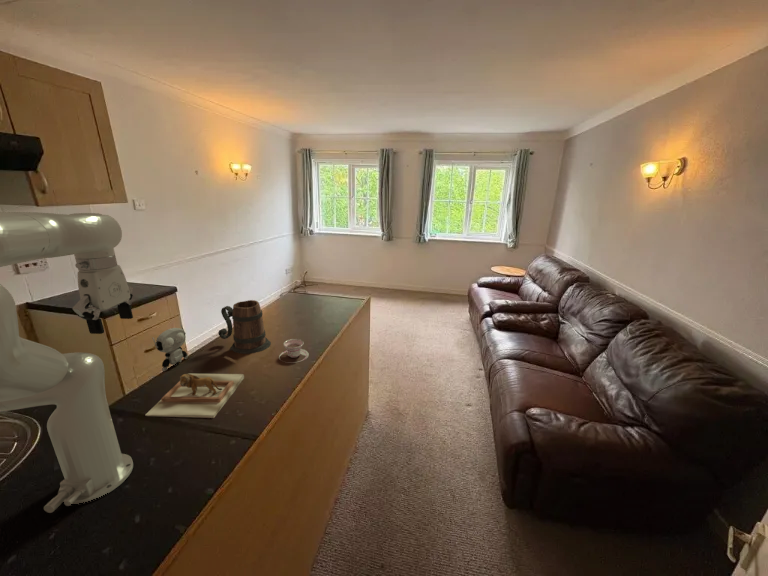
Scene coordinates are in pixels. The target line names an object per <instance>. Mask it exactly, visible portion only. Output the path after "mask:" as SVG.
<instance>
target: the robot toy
mask: <svg viewBox="0 0 768 576" xmlns="http://www.w3.org/2000/svg"><path fill="white" fill-rule="evenodd" d="M180 327H181V328H180ZM180 327H172V328H171V327H170V328H168V329H166V330H164V331H162V333H160V334H159V335H158V336H157V338H156V341H155V337H152V340H153V343H154V346H155V349H156V350H157V351H159V352H160V353H165V354H164V357H165V359H164V360H163V361H162V363H161V364H162V365H161V368H162V372H166V371H167V370H168V367H170V365H173V366H178V365H179V364H180V363H182V361H183V359H185V360H187V359H188V358H189V354H188V353H187V351H186V350H183V348H182V346H183V345H184V343H185V341H186V338H187V336H186V332H185V329H184V328H183V324H180ZM179 362H180V363H179ZM178 363H179V364H178ZM175 364H176V365H175Z"/></svg>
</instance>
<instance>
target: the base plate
mask: <svg viewBox="0 0 768 576" xmlns="http://www.w3.org/2000/svg"><path fill="white" fill-rule="evenodd" d="M190 374H191V375H195V376H197V377H198V378H206V377H210V378H212V379H213V380H214V382H215V384H216V386H217V387H218V388H221V389H222V390H218V389H217V388H216V387H215V385H214V384H213V387H214V388H215V390H216V394H213V392H214V391H212V390H209V388H208V387H207V386H206V385H205V386H203V387H197V391H196V394H195V395H192V393H194V392H193V391H192V388H188V387H187V386H181V385H180V380H179V381H178V382H177V383H176V384H175V385H174V386H173V387H172V388H171V389H170V390H169V391H167V393H165V394H164V395H163V396H162V397H161V399H160V400H159V401H158V402H157V403H155V405H154V406H153V407H151V409H150V410H148V412H147V413H145V417H166V418H167V417H170V418H171V417H173V418H175V417H176V418H202V419H203V418H207V419H210V418H211V419H214V418H215V417H216V416H217V415H218V413H219V412H220V411H221V409H222V408H223V407H224V405H226V403H227V402H228V401H229V399H230V398H231V397H232V395H233V394H234V393H235V391H236V390H237V389H238V387H239V386H240V385H241V383H242V382H243V380H244V379H245V373H190Z"/></svg>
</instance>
